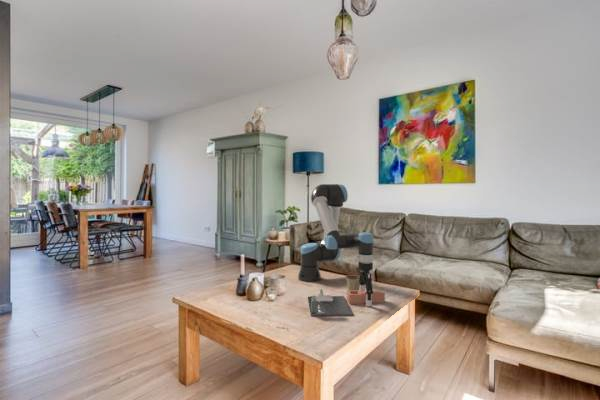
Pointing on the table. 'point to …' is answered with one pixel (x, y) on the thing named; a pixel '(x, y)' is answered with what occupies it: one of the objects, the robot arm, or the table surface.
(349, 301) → the link
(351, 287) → the flower pot
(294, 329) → the table surface
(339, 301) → the pintle base
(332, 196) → the robot arm
